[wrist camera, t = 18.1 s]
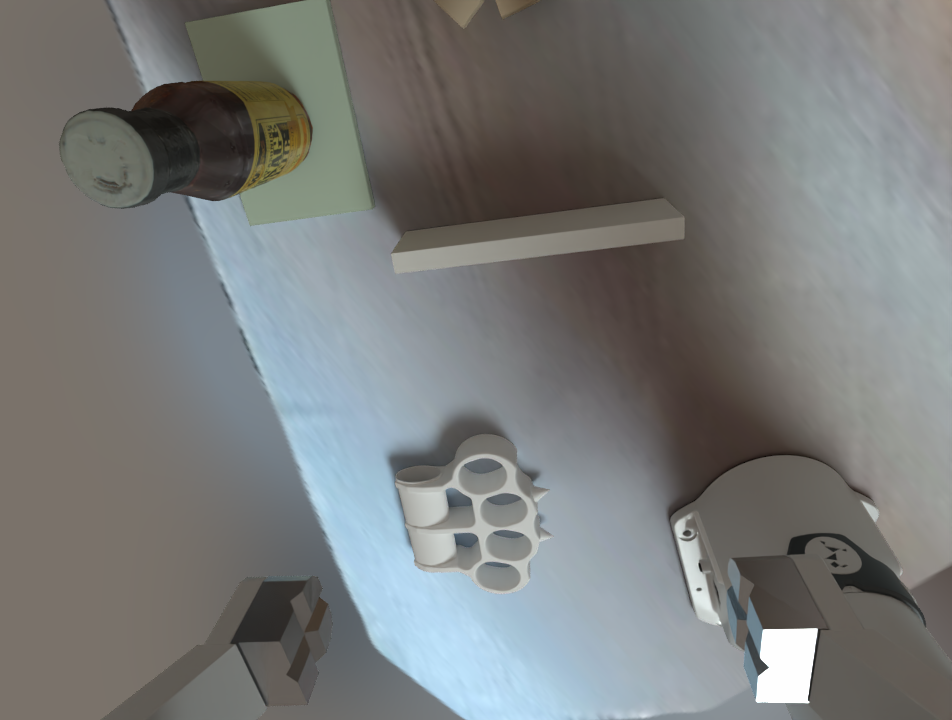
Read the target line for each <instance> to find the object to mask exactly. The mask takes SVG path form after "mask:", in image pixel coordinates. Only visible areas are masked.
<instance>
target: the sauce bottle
mask: <svg viewBox="0 0 952 720" xmlns="http://www.w3.org/2000/svg"><path fill="white" fill-rule="evenodd" d="M312 134H313V126H312V124H311V121H310V118H309V116H308V114H307V111H306V110H305V108H304V106H303V105H302V103H301V102H300V100H299V99H298V98H297V97H296V95H294V94H293V93H291V92H289V91H288V90H286V89H284V88H282V87H280V86H278V85H276V84H274V83H269V82H262V81H191V82H186V83H184V82H178V83H170V84H163V85H161V86H158V87H156V88H154V89H152V90H150V91H149V92H148V93H146V94H145V95H144V96H142V98H141V99H140V100H139V101H138V102H137V103H136V104H135V105H134V107H133V109H132V111H126V110H122V109H119V108H117V109H116V108H99V109H89V110H86V111H83V112H80V113H78V114H76V115H74V116H73V117H72V118H71V119H70V120H69V121H68V122H67V123H66V125H65V127H64V129H63V133H62V135H61V138H60V143H59V146H60V155H61V160H62V162H63V164H64V166H65V168H66V171H67V174H68V175H69V177H70V179H71V181H72V182H73V183H74V184H75V186H76V187H77V188H78V189H79V190H80V191H81V192H83V193H84V194H85V195H86V196H87V197H89V198H90V199H92V200H94V201H95V202H98V203H99V204H101V205H104V206H107V207H111V208H121V209H122V208H133V207H137V206H140V205H145V204H148V203H150V202H152V201H154V200H155V199H156V198H158V197H159V196H160V195H161V194H164V193H166V192H172V193H177V194H182V195H187V196H192V197H196V198H201V199H205V200H210V201H220V200H224V199H227V198H230V197H232V196H235V195H237V194H240V193H242V192H244V191H247V190H249V189H252V188H255V187H257V186H259V185H262V184H265V183H267V182H269V181H271V180H273V179H276V178H278V177H281V176H283V175H285V174H288V173H290V172H292V171H293V170H294V169H296V168H297V167H298V166H299V165H300V164H301V162H302V161H304V160H305V158H306V157H307V156H308V153H309V150H310V147H311V142H312Z"/></svg>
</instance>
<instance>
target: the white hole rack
mask: <svg viewBox="0 0 952 720" xmlns="http://www.w3.org/2000/svg"><path fill="white" fill-rule="evenodd" d="M481 458H489V459H493V460H496V461H498V462H499V463H500V464H502V467H501V468H499V469H497V470H494V471H491V472H488V473H484V474H479V473H474V472H471V471H469V470H468V469H467V468H466V467H465V466H464V464H466V463H468V462H471V461H474V460H477V459H481ZM395 478H396V481H395V485H396V487H397V488H398V490H399V494H400V498H401V503H402V507H403V511H404V515H405V519H406V522H405V526H406V528H407V529H408V532H409V536H410V540H411V544H412V548H413V553H414V557H415V560H414V563H415V566H417V567H418V568H419V569H421V570H423V571H426V572H441V573H442V572H460V573H463V574H465V575H467V576H469V577H471V579H472V581H473V582H474V583H475V584H476V585H477V586H478V587H480V588H481V589H483V590H485V591H488V592H491V593H495V594H508V593H513V592H516V591H518V590H520V589H522V588H523V587H524V586H525V585H526V584H527V583H528V582H529V580H530V559H531V558H532V557H533V556H534V555H535V554H536V553H537V550H538V546H539V542H541V541H544V540H547V539H549V538H552V537H554V536H553V535H551V534H550V533H549V532H547V531H546V530H544V529H543V528H541V527H540V517H539V516H538V515H537V513H538V502H537V501H538V500H539V499H541V498H542V497H543V496H544V495H545V494H546V493H547V492H548V491H549V489H545V488H540V487H536V486H534V485H533V482H532V480H531V478H530V477H529V476H527V475H526V474H524V473H523V472H522V471H521V469H520V468H519V466H518V464H517V448H516V447H515V446H514V445H513V444H512V443H511V442H510V441H508V440H507V439H505V438H503V437H501V436H497V435H493V434H480V435H476V436H473V437H470V438H468V439H467V440H465V441H464V442H463V443H462V444H461V445H460V446H459V447H458V449H457V451H456V454H455V459H454V460H453V461H451V462H450V463H449V464H447V465H446V466H436V467H434V466H427V465H423V466H413V467H409V468H405V469H403V470H400V471H399V472H397V473H396V475H395ZM448 488H455V489H457V490H458V491H460V492H461V493H462V494H464V495H466V496H468V497H470V498H471V500H472V506H460V507H449V506H448V501H447V496H446V491H445V490H446V489H448ZM501 493H511V494H515V495H517V496H519V497H521V498H522V499H520V500H519V501H517V502H514V503H511V504H507V505H495V504H492V503H490V502H489V501H487V500H486V499H487V498H488V497H491V496H494V495H497V494H501ZM498 530H510V531H515V532H519V533H522V534H524V536H522V537H519V538H507V537H501V536H498V535H495V534H494V533H492V532H494V531H498ZM454 533H473V534H475V535H476V536H477V537H478V541H477V542H476V543H475V544H474V545H473V546H472V547H464V546H462V545H456V542H455V537H454ZM486 562H500V563H506V564H509V565H511V566H510V567H504V568H502V567H495V566H490V565H487V564H485V563H486Z"/></svg>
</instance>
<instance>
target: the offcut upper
mask: <svg viewBox="0 0 952 720" xmlns="http://www.w3.org/2000/svg"><path fill="white" fill-rule="evenodd" d="M539 1H541V0H496V3H497V6H498V9H499V12H500V15H501V17H502V19H505V18H507V17H509V16H511V15H513V14H515V13H517V12H519V11H521V10H523V9H525V8H527V7H529V6H531V5H533V4H535V3H537V2H539Z"/></svg>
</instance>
